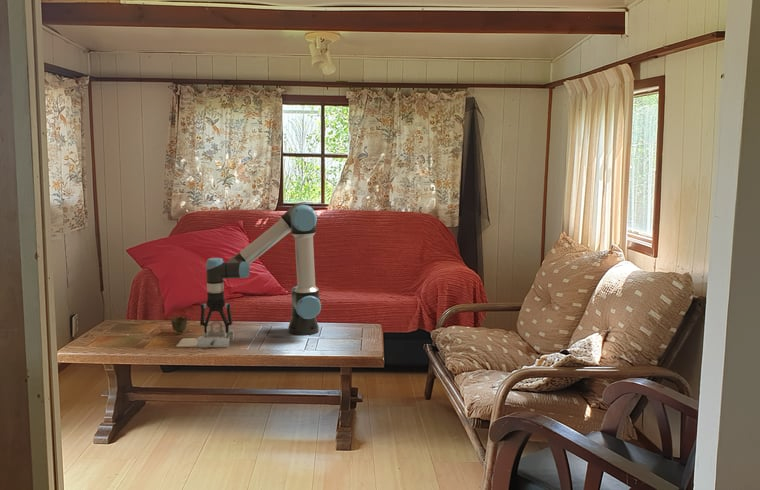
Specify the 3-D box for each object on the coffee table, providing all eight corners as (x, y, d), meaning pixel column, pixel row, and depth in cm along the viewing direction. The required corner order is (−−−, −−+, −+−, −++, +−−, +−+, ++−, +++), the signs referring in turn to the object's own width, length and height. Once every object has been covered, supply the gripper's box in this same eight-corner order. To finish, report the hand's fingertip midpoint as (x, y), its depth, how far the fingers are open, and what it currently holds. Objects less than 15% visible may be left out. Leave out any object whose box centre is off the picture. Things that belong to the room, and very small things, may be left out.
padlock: (208, 343, 319) (207, 322, 318) (210, 340, 323) (209, 320, 322) (223, 343, 319) (223, 322, 318) (225, 340, 323) (224, 319, 322)
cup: (190, 333, 338) (190, 317, 337) (180, 336, 332) (180, 320, 330) (178, 331, 341) (178, 315, 340) (168, 334, 335) (168, 318, 334)
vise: (234, 339, 329) (233, 330, 328) (227, 349, 312) (227, 339, 311) (204, 339, 328) (204, 329, 327) (196, 349, 311) (196, 339, 311)
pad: (201, 339, 327) (201, 338, 327) (196, 346, 315) (196, 345, 315) (182, 339, 327) (182, 338, 327) (176, 346, 315) (176, 345, 315)
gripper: (238, 289, 322) (239, 337, 325) (195, 289, 321) (197, 337, 325) (235, 293, 315) (237, 341, 318) (191, 293, 314) (193, 341, 317)
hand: (216, 339), depth 321 cm, fingers closed on padlock, 7 cm apart
